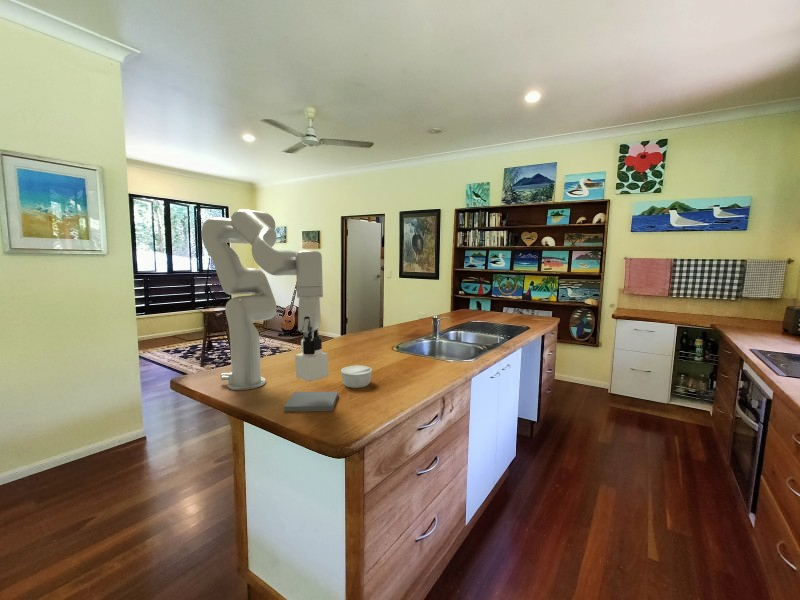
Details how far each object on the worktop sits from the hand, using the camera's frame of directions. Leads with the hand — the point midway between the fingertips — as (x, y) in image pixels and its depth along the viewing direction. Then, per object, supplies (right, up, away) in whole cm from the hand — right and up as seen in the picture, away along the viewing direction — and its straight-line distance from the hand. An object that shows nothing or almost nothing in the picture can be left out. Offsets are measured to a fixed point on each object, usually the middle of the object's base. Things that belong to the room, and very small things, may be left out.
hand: (311, 350), depth 108 cm
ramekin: (+11, -15, +20) cm, 27 cm away
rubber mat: (0, -16, +2) cm, 17 cm away
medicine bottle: (0, -8, +1) cm, 8 cm away
